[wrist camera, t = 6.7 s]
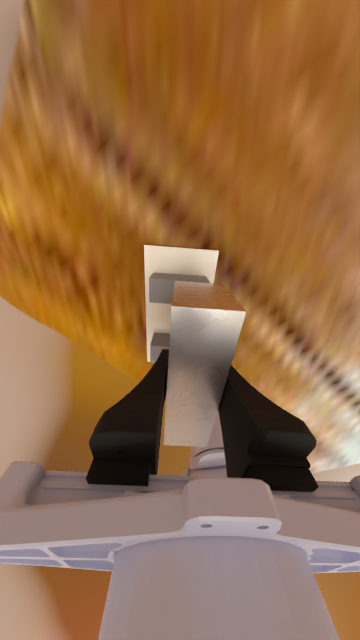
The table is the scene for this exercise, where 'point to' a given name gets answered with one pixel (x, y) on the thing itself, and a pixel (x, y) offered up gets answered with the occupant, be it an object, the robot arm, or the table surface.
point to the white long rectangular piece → (199, 359)
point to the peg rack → (170, 287)
